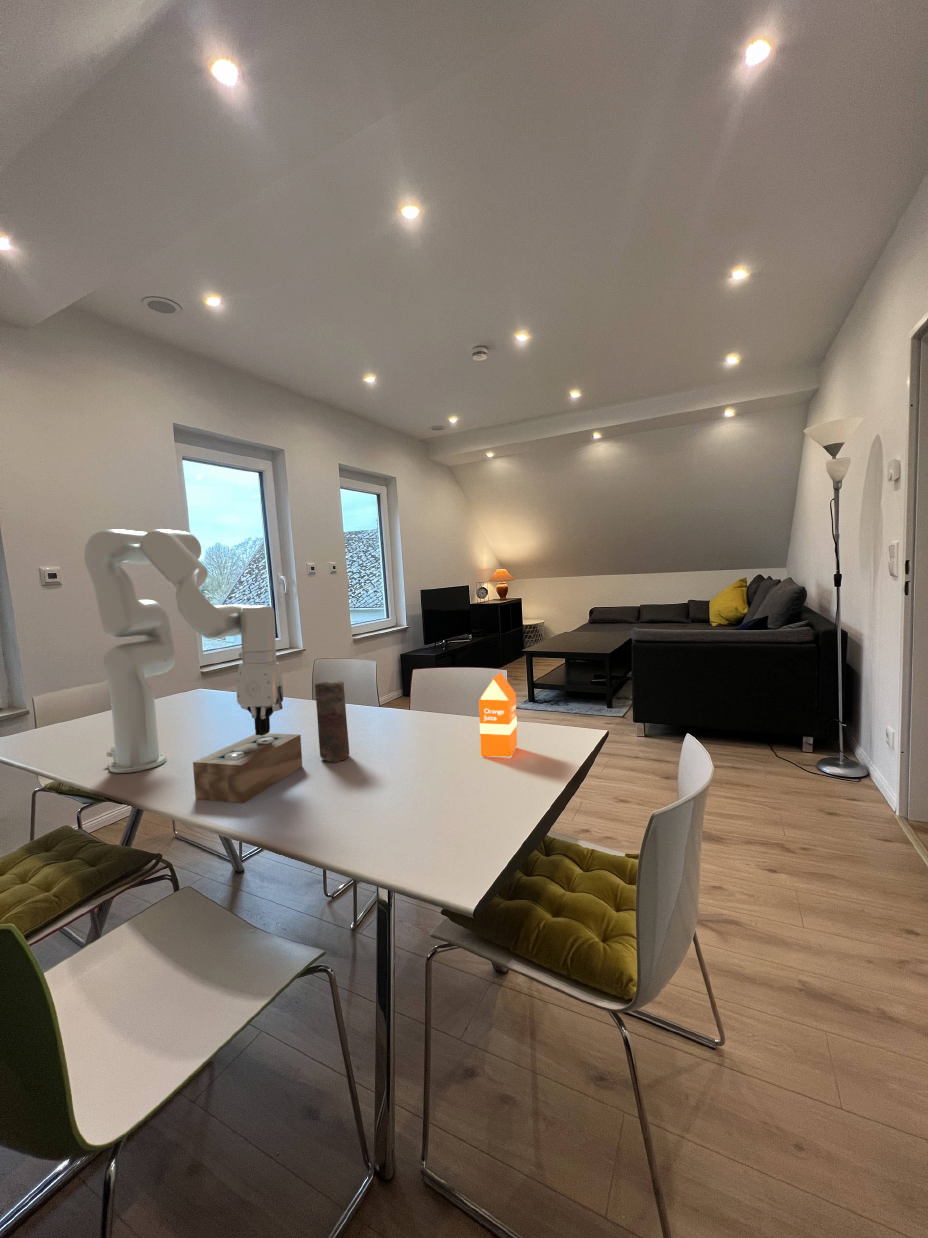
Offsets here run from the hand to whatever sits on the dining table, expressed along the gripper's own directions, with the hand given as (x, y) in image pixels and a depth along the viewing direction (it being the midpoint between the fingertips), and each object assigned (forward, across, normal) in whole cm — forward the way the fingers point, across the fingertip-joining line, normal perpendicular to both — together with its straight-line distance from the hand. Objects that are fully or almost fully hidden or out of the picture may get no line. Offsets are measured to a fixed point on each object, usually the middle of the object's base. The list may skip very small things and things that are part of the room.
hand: (262, 733), depth 128 cm
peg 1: (+10, +1, -11) cm, 15 cm away
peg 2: (+10, +1, 0) cm, 10 cm away
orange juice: (+8, +53, +24) cm, 59 cm away
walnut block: (+10, +1, -6) cm, 11 cm away
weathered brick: (+10, +12, +12) cm, 20 cm away
